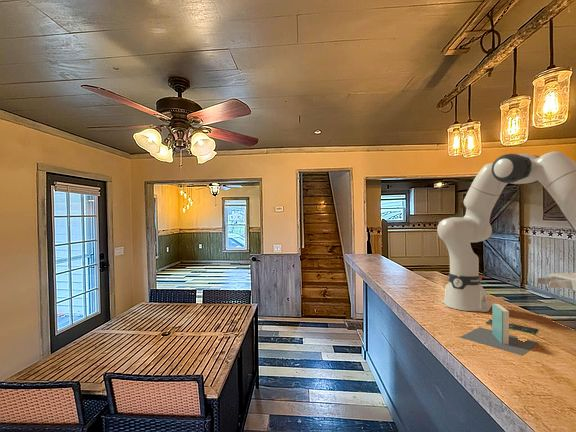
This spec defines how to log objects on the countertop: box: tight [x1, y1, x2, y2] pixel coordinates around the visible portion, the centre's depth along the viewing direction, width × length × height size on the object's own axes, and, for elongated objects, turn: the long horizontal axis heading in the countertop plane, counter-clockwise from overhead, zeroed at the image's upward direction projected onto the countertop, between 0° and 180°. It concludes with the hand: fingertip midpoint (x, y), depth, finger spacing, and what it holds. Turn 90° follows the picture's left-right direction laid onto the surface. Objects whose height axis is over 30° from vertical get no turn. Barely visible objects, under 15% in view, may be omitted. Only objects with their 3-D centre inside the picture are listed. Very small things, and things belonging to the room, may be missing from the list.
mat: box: [459, 326, 540, 356], centre depth 101 cm, size 16×17×1 cm
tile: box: [491, 303, 510, 345], centre depth 102 cm, size 2×9×10 cm, turn 163°
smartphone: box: [485, 319, 540, 335], centre depth 114 cm, size 8×1×15 cm
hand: (542, 282), depth 98 cm, fingers open, 8 cm apart
